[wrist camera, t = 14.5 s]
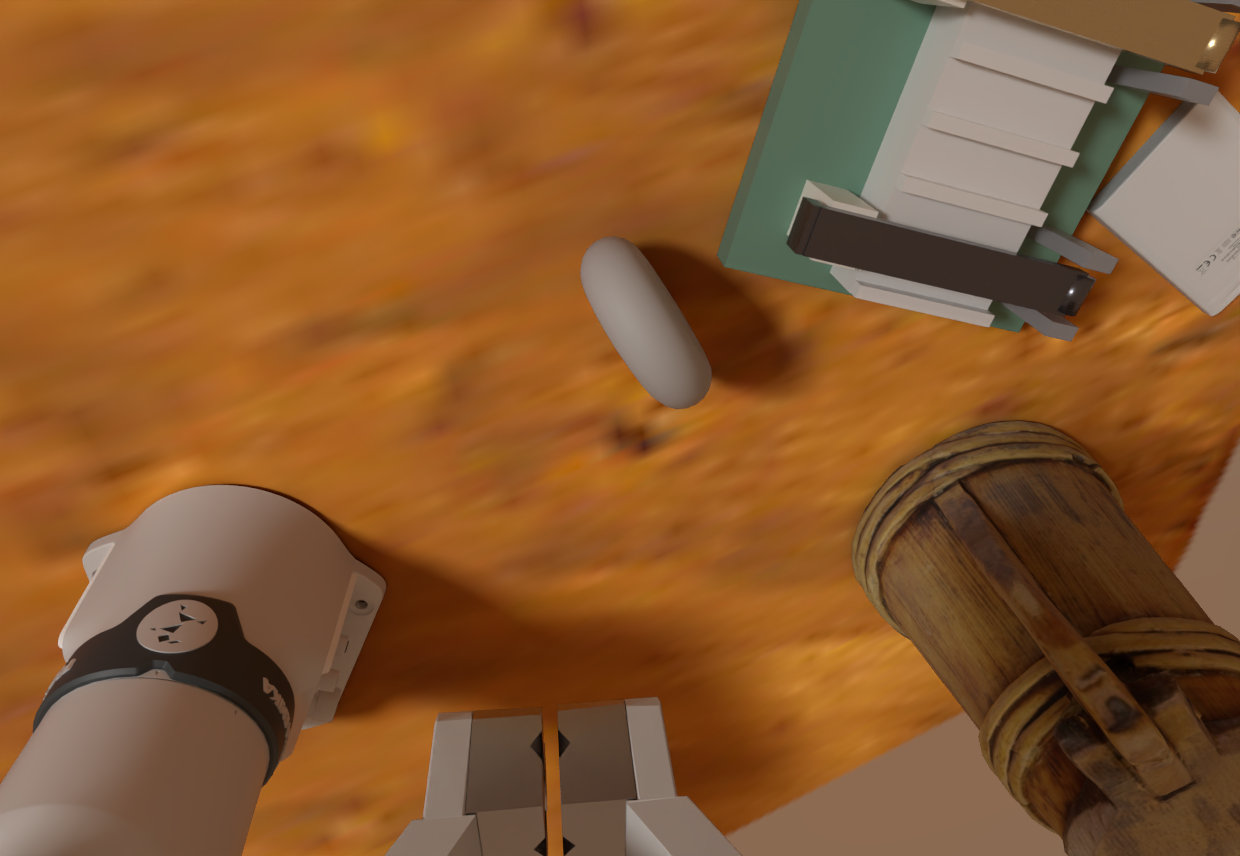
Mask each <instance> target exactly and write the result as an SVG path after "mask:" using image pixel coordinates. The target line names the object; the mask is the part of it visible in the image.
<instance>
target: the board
mask: <svg viewBox="0 0 1240 856" xmlns="http://www.w3.org/2000/svg"><path fill="white" fill-rule="evenodd" d="M1189 1H1192V2H1195V3H1198V4H1201V5H1204V6H1207V7H1210V8H1213V9H1215V10H1218V11H1221V12H1232V13H1240V0H1189ZM1164 66H1165V64H1162V63H1159V62H1156V61H1153V60H1149V59H1146V58H1143V57H1140V56H1137V55H1134V54H1131V53H1128V52H1125V51H1122V50H1118V49H1115V48H1112V47H1109V46H1106V45H1103V44H1100V43H1097V42H1094V41H1091V40H1088V39H1084V38H1081V37H1078V36H1075V35H1072V34H1069V33H1066V32H1063V31H1060V30H1057V29H1054V28H1050V27H1047V26H1044V25H1041V24H1038V23H1035V22H1032V21H1029V20H1026V19H1023V18H1020V17H1016V16H1013V15H1010V14H1007V13H1004V12H1001V11H998V10H995V9H992V8H989V7H986V6H982V5H979V4H976V3H973V2H970V1H967V0H800V1H799V4H798V7H797V10H796V13H795V16H794V19H793V22H792V25H791V29H790V32H789V35H788V38H787V41H786V44H785V47H784V50H783V53H782V56H781V59H780V62H779V65H778V69H777V72H776V75H775V78H774V81H773V84H772V87H771V90H770V93H769V96H768V99H767V102H766V106H765V109H764V112H763V115H762V118H761V121H760V124H759V127H758V130H757V133H756V136H755V139H754V142H753V146H752V149H751V152H750V155H749V158H748V161H747V164H746V167H745V170H744V173H743V176H742V179H741V182H740V186H739V189H738V192H737V195H736V198H735V201H734V204H733V207H732V210H731V213H730V216H729V219H728V223H727V226H726V229H725V232H724V235H723V238H722V241H721V244H720V247H719V250H718V253H717V256H718V258H719V259H720V261H721V262H722V264H723V265H724V267H727V268H732V269H736V270H741V271H745V272H750V273H754V274H759V275H763V276H768V277H772V278H777V279H781V280H786V281H790V282H795V283H799V284H803V285H808V286H812V287H817V288H821V289H826V290H830V291H835V292H839V293H844V294H848V295H853V296H854V297H855V298H859V299H863V300H868V301H872V302H877V303H881V304H886V305H890V306H895V307H899V308H904V309H908V310H913V311H917V312H922V313H926V314H931V315H935V316H940V317H944V318H949V319H953V320H957V321H962V322H966V323H971V324H975V325H980V326H984V327H989V326H991V327H996V328H1000V329H1005V330H1009V331H1014V332H1018V333H1019V331H1020V330H1021V328H1022V326H1023V324H1024V322H1027V323H1028V324H1030V325H1031V326H1032V327H1034V328H1035V329H1037V330H1038V331H1039V332H1041V333H1042V334H1043V335H1045V336H1048V337H1053V338H1057V339H1062V340H1066V341H1071V340H1072V339H1073V337H1074V335H1075V334H1076V332H1077V330H1078V327H1077V326H1075V325H1074V324H1072V323H1071V322H1069V321H1068V320H1066V319H1065V318H1063V317H1062V316H1059V315H1055V314H1051V313H1046V312H1042V311H1038V310H1033V309H1029V308H1025V307H1020V306H1016V305H1012V304H1007V303H1003V302H999V301H995V300H990V299H986V298H982V297H977V296H973V295H969V294H964V293H960V292H956V291H951V290H947V289H943V288H939V287H934V286H930V285H926V284H921V283H917V282H913V281H908V280H904V279H900V278H896V277H891V276H887V275H883V274H878V273H874V272H870V271H865V270H861V269H857V268H852V267H848V266H844V265H840V264H835V263H831V262H827V261H822V260H818V259H814V258H809V257H805V256H803V255H799V254H795V253H794V252H793V251H792V250H791V248H790V247H789V246H788V245H787V244H786V242H787V239H788V237H789V234H790V231H791V228H792V226H793V223H794V220H795V218H796V215H797V212H798V209H799V207H800V204H801V201H802V198H803V197H807V198H811V199H815V200H819V201H820V202H821V203H822V204H823V205H826V206H830V207H834V208H838V209H842V210H846V211H850V212H854V213H858V214H862V215H866V216H870V217H874V218H878V219H882V220H886V221H890V222H894V223H898V224H902V225H906V226H910V227H914V228H918V229H922V230H926V231H930V232H934V233H938V234H942V235H946V236H950V237H954V238H958V239H962V240H966V241H971V242H975V243H979V244H983V245H987V246H991V247H995V248H999V249H1003V250H1007V251H1011V252H1015V253H1019V254H1023V255H1027V256H1031V257H1035V258H1039V259H1043V260H1047V261H1051V262H1055V263H1057V262H1058V260H1059V258H1060V256H1061V255H1062V256H1063V257H1065V258H1067V259H1069V260H1071V261H1072V262H1074V263H1076V264H1078V265H1080V266H1082V267H1083V268H1087V269H1091V270H1095V271H1099V272H1103V273H1107V274H1111V272H1112V270H1113V269H1114V267H1115V265H1116V263H1117V262H1118V260H1119V259H1117V258H1115V257H1113V256H1111V255H1109V254H1107V253H1105V252H1103V251H1101V250H1099V249H1097V248H1095V247H1093V246H1091V245H1089V244H1088V243H1086V242H1084V241H1082V240H1080V239H1078V238H1076V237H1074V236H1072V234H1073V232H1074V231H1075V229H1076V227H1077V225H1078V223H1079V221H1080V220H1081V218H1082V216H1083V214H1084V212H1085V210H1086V209H1087V207H1088V205H1089V203H1090V201H1091V199H1092V198H1093V196H1094V194H1095V192H1096V190H1097V188H1098V187H1099V185H1100V183H1101V181H1102V179H1103V177H1104V176H1105V174H1106V172H1107V170H1108V168H1109V166H1110V165H1111V163H1112V161H1113V159H1114V157H1115V155H1116V154H1117V152H1118V150H1119V148H1120V146H1121V145H1122V143H1123V141H1124V139H1125V137H1126V135H1127V134H1128V132H1129V130H1130V128H1131V126H1132V124H1133V123H1134V121H1135V119H1136V117H1137V115H1138V113H1139V112H1140V110H1141V108H1142V106H1143V104H1144V102H1145V101H1146V99H1147V97H1148V95H1149V93H1150V94H1155V95H1160V96H1164V97H1169V98H1174V99H1178V100H1183V101H1188V102H1193V103H1197V104H1202V105H1207V106H1209V104H1210V103H1211V101H1212V99H1213V98H1214V96H1215V94H1216V92H1217V91H1218V89H1219V87H1216V86H1213V85H1210V84H1207V83H1204V82H1201V81H1198V80H1195V79H1191V78H1186V77H1181V76H1175V75H1169V74H1164V73H1161V71H1162V69H1163V68H1164Z"/></svg>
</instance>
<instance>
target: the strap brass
mask: <svg viewBox="0 0 1240 856" xmlns="http://www.w3.org/2000/svg"><path fill="white" fill-rule="evenodd" d="M967 1H970V2H973V3H976V4H979V5H982V6H986V7H989V8H992V9H995V10H998V11H1001V12H1004V13H1007V14H1010V15H1013V16H1016V17H1020V18H1023V19H1026V20H1029V21H1032V22H1035V23H1038V24H1041V25H1044V26H1047V27H1050V28H1054V29H1057V30H1060V31H1063V32H1066V33H1069V34H1072V35H1075V36H1078V37H1081V38H1084V39H1088V40H1091V41H1094V42H1097V43H1100V44H1103V45H1106V46H1109V47H1112V48H1115V49H1118V50H1122V51H1125V52H1128V53H1131V54H1134V55H1137V56H1140V57H1143V58H1146V59H1149V60H1153V61H1156V62H1159V63H1162V64H1165V65H1168V66H1171V67H1174V68H1177V69H1180V70H1183V71H1187V72H1190V73H1195V74H1201V75H1203V73H1204V72H1208V73H1216V72H1217V70H1218V68H1219V67H1220V65H1221V63H1222V61H1223V60H1224V58H1225V56H1226V54H1227V53H1228V51H1229V49H1230V48H1231V46H1232V44H1233V42H1234V41H1235V39H1236V37H1237V35H1238V34H1239V32H1240V22H1237V21H1234V19H1235V17H1236V16H1233V15H1230V14H1227V13H1224V12H1221V11H1218V10H1215V9H1213V8H1210V7H1207V6H1204V5H1201V4H1198V3H1195V2H1192V1H1189V0H967Z"/></svg>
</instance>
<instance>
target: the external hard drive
mask: <svg viewBox="0 0 1240 856" xmlns="http://www.w3.org/2000/svg"><path fill="white" fill-rule="evenodd" d="M1210 85H1212V84H1210ZM1086 211H1087V212H1088V213H1089V214H1091V215H1092V216H1093V217H1094V218H1095V219H1096V220H1097V221H1099V222H1100V223H1101V224H1102V225H1103V226H1104V227H1106V228H1107V229H1108V230H1109V231H1110V232H1111V233H1113V234H1114V235H1115V236H1116V237H1117V238H1118V239H1119V240H1121V241H1122V242H1123V243H1124V244H1125V245H1126V246H1128V247H1129V248H1130V249H1131V250H1132V251H1133V252H1134V253H1136V254H1137V255H1138V256H1139V257H1140V258H1141V259H1143V260H1144V261H1145V262H1146V263H1147V264H1148V265H1149V266H1151V267H1152V268H1153V269H1154V270H1155V271H1156V272H1157V273H1159V274H1160V275H1161V276H1162V277H1163V278H1164V279H1166V280H1167V281H1168V282H1169V283H1170V284H1171V285H1172V286H1174V287H1175V288H1176V289H1177V290H1178V291H1179V292H1181V293H1182V294H1183V295H1184V296H1185V297H1186V298H1187V299H1189V300H1190V301H1191V302H1192V303H1193V304H1194V305H1195V306H1197V307H1198V308H1199V309H1200V310H1201V311H1202V312H1204V313H1206V314H1208V315H1210V316H1214V315H1216V314H1218V313H1219V312H1221V311H1222V310H1223V309H1224V308H1225V307H1226V306H1227V305H1228V304H1229V303H1230V302H1231V301H1233V300H1234V299H1235V298H1236V297H1237V296H1238V295H1239V294H1240V113H1239V112H1238V111H1237V110H1236V109H1235V108H1234V107H1233V106H1232V105H1231V104H1230V103H1229V102H1228V101H1227V100H1226V99H1225V97H1224V96H1223V95H1222V94H1221V93H1220V92H1219V91H1217V92H1216V94H1215V96H1214V98H1213V99H1212V101H1211V103H1210V104H1209V106H1207V105H1202V104H1197V103H1193V102H1188V101H1183V102H1182V103H1181V104H1180V105H1179V107H1178V108H1177V109H1176V110H1175V111H1174V112H1173V113H1172V114H1171V115H1170V116H1169V117H1168V119H1167V120H1166V121H1165V122H1164V123H1163V124H1162V125H1161V126H1160V127H1159V128H1158V129H1157V130H1156V132H1155V133H1154V134H1153V135H1152V136H1151V137H1150V138H1149V139H1148V140H1147V141H1146V142H1145V144H1144V145H1143V146H1142V147H1141V148H1140V149H1139V150H1138V151H1137V152H1136V153H1135V154H1134V156H1133V157H1132V158H1131V159H1130V160H1129V161H1128V162H1127V163H1126V164H1125V165H1124V166H1123V168H1122V169H1121V170H1120V171H1119V172H1118V173H1117V174H1116V175H1115V176H1114V177H1113V178H1112V179H1111V181H1110V182H1109V183H1108V184H1107V185H1106V186H1105V187H1104V188H1103V189H1102V190H1101V191H1100V192H1099V194H1098V195H1097V196H1096V197H1095V198H1094V199H1093V200H1092V201H1091V202H1090V203H1089V205H1088V207H1087V209H1086Z"/></svg>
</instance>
